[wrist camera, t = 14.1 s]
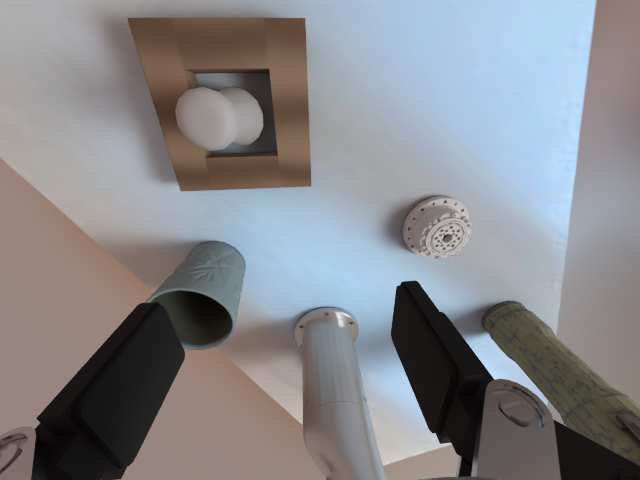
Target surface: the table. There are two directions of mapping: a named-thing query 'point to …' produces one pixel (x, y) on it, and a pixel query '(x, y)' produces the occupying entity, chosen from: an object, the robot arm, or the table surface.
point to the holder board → (230, 57)
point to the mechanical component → (437, 227)
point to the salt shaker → (219, 117)
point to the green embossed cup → (204, 295)
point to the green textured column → (566, 380)
